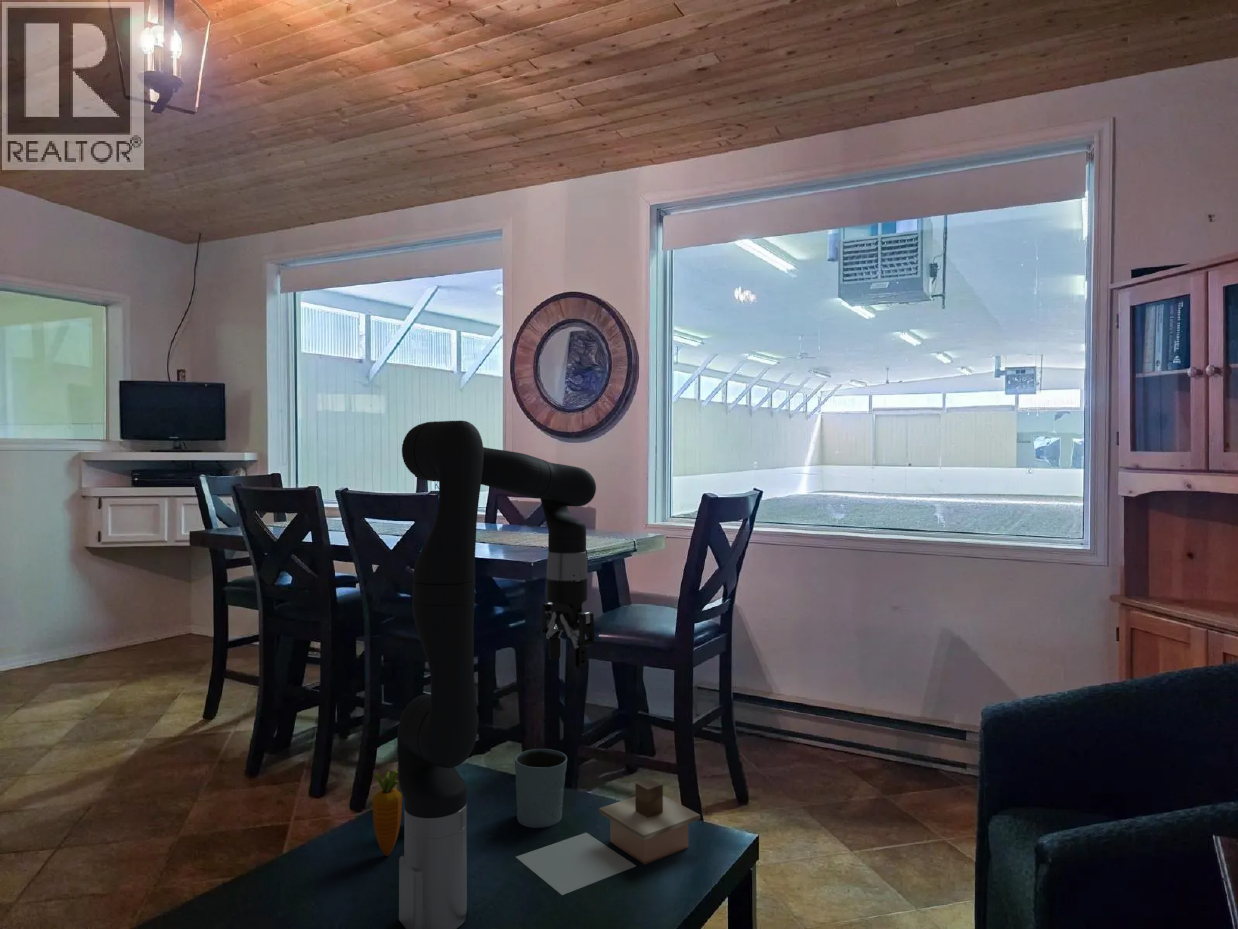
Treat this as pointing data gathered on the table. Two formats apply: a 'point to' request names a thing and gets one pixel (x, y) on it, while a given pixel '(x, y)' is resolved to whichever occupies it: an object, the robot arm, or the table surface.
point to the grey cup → (540, 787)
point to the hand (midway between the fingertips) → (566, 663)
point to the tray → (575, 863)
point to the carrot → (387, 812)
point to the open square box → (649, 843)
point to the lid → (649, 811)
